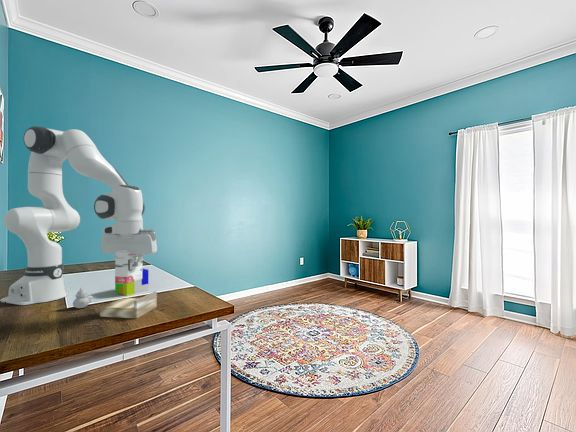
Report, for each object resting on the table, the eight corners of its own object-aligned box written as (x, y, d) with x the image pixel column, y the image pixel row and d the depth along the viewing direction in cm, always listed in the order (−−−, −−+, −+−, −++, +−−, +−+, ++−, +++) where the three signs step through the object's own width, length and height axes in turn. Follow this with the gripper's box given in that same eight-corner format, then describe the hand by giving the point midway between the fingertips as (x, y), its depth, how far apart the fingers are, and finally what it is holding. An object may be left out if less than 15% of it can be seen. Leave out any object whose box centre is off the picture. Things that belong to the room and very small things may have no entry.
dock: (99, 316, 99) (99, 299, 99) (123, 305, 111) (123, 290, 111) (136, 318, 98) (136, 301, 98) (156, 306, 110) (156, 291, 110)
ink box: (126, 284, 100) (126, 250, 99) (114, 283, 101) (113, 250, 100) (143, 278, 108) (143, 247, 108) (132, 278, 109) (131, 247, 109)
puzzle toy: (148, 290, 133) (148, 269, 133) (126, 295, 124) (126, 273, 124) (136, 287, 138) (136, 267, 138) (115, 292, 130) (115, 270, 130)
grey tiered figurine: (69, 308, 107) (69, 287, 107) (88, 303, 113) (88, 284, 113) (77, 311, 105) (77, 289, 105) (96, 306, 111) (96, 285, 110)
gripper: (160, 228, 106) (160, 265, 106) (110, 227, 108) (110, 263, 109) (150, 229, 100) (150, 268, 100) (98, 228, 102) (98, 266, 102)
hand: (129, 265), depth 104 cm, fingers closed on ink box, 5 cm apart
